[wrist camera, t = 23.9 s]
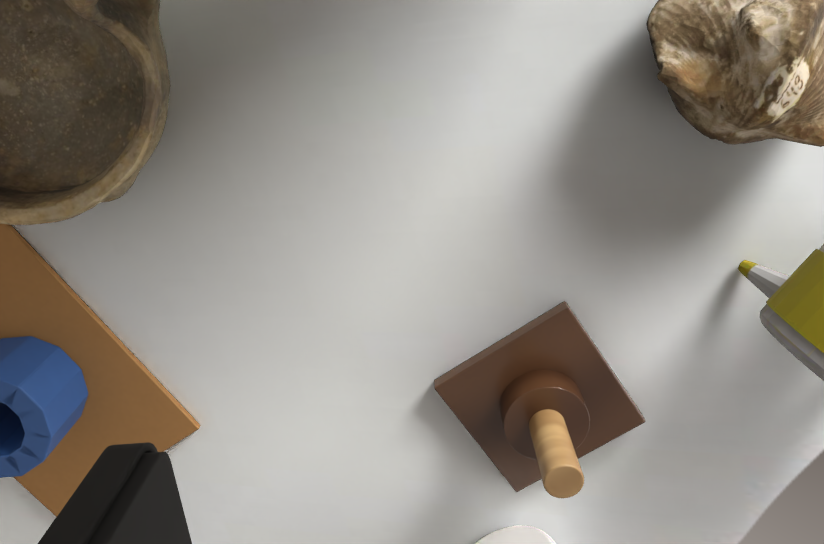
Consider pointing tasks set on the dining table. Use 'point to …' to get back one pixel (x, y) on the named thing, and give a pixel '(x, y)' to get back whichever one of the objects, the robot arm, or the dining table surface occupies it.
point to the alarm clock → (794, 307)
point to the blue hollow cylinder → (35, 401)
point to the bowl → (77, 103)
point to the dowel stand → (540, 402)
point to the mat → (102, 369)
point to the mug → (517, 536)
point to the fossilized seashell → (743, 66)
